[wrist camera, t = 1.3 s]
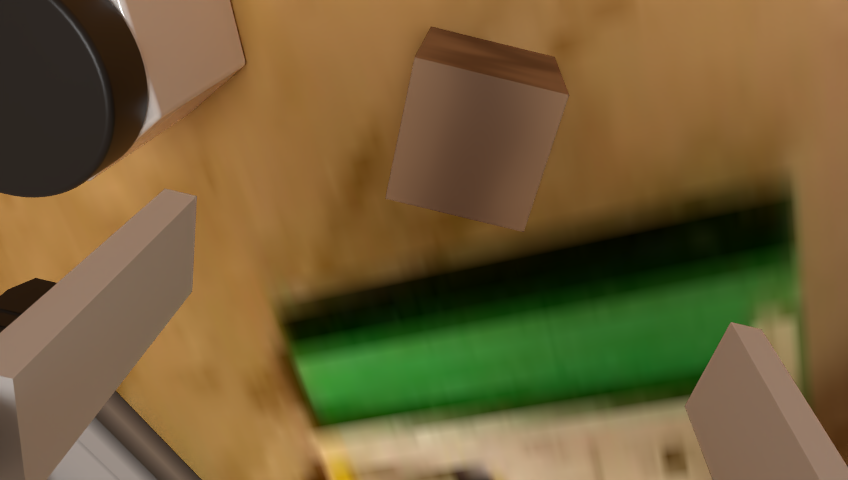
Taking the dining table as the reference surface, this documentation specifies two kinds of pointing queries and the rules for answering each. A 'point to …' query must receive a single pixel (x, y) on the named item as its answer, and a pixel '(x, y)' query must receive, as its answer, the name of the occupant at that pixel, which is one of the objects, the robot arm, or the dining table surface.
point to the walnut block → (476, 129)
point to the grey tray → (120, 450)
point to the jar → (101, 81)
